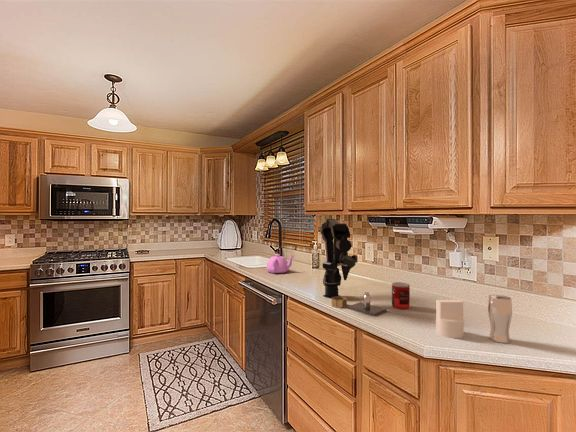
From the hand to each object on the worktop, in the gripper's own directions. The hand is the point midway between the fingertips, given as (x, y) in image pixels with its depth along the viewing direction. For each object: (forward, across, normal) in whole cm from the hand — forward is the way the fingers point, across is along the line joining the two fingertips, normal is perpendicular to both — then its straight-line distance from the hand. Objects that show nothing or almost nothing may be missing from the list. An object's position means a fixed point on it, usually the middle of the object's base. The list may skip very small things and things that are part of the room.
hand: (339, 281), depth 147 cm
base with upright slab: (+12, +2, -49) cm, 50 cm away
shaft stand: (+12, +4, -13) cm, 18 cm away
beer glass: (+12, +9, -63) cm, 65 cm away
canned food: (+12, +20, -21) cm, 31 cm away
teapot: (+12, +35, +84) cm, 92 cm away
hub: (+12, 0, 0) cm, 12 cm away
